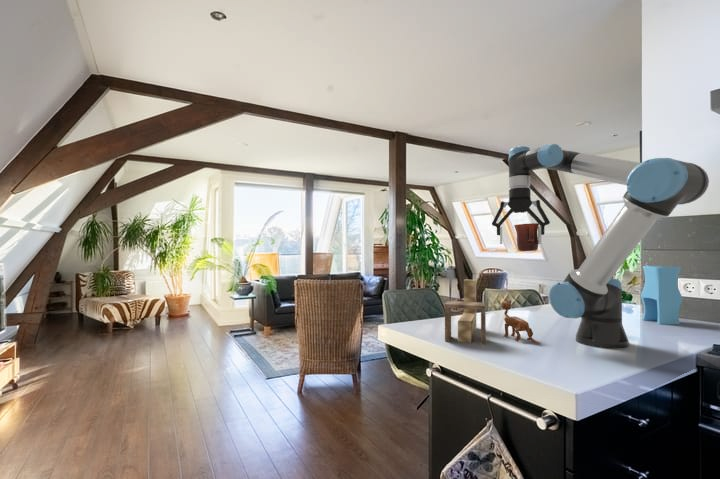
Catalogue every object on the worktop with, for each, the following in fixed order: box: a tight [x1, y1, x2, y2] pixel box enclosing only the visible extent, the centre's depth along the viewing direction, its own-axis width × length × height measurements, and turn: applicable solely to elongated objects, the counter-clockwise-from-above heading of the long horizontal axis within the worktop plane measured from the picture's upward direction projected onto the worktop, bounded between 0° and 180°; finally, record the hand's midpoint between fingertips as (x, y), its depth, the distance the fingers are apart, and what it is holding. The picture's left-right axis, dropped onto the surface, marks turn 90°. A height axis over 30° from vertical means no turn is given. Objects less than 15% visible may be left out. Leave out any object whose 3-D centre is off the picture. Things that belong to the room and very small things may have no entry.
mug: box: [513, 222, 540, 252], centre depth 138 cm, size 12×9×10 cm
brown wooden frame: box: [444, 300, 487, 346], centre depth 130 cm, size 13×8×13 cm, turn 69°
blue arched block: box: [640, 265, 683, 325], centre depth 158 cm, size 10×10×25 cm
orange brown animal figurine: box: [501, 298, 541, 345], centre depth 130 cm, size 18×7×14 cm, turn 19°
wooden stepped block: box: [457, 278, 477, 343], centre depth 140 cm, size 4×25×20 cm, turn 158°
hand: (520, 244), depth 139 cm, fingers open, 13 cm apart
